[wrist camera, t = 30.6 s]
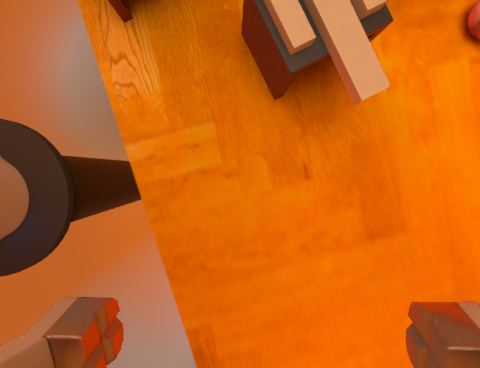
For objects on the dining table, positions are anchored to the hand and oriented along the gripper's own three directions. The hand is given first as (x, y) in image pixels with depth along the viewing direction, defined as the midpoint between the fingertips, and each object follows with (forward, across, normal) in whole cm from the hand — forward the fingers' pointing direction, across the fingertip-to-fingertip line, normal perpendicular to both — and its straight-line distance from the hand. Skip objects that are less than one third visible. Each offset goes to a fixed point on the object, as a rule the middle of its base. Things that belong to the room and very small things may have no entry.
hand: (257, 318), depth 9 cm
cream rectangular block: (+38, +9, +13) cm, 41 cm away
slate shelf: (+54, +5, +13) cm, 55 cm away
